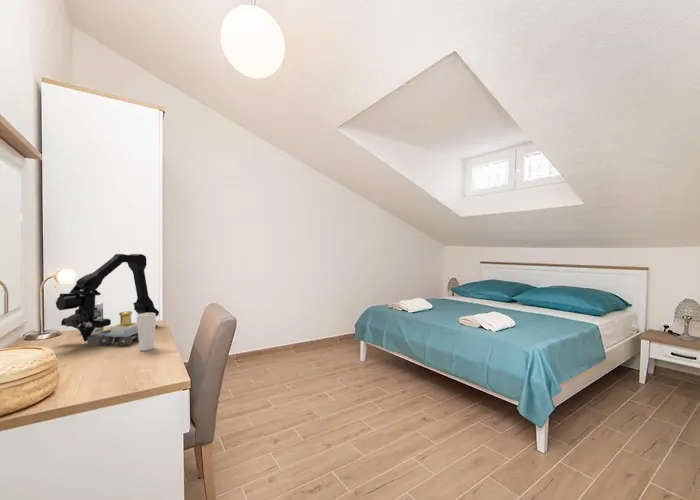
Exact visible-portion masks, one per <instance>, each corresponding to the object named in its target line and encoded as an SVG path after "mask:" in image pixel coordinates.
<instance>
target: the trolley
mask: <svg viewBox="0 0 700 500" xmlns="http://www.w3.org/2000/svg"><path fill="white" fill-rule="evenodd" d="M99 341H100V344H101V345H102V346H105V347H106V346H108V345H110V344H112V343H113V341H115V342H118V343H119V345H120V346H122V347H127V346H129V345H131V344H132V343H133V342H139V340H138V330H137V326H135V327H132V328H129V329H126V330H125V333H111V332H109V333H106V334H105V335H104V336H101V337H100V339H99ZM101 345H100V346H101Z"/></svg>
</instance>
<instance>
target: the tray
mask: <svg viewBox="0 0 700 500" xmlns="http://www.w3.org/2000/svg"><path fill="white" fill-rule="evenodd" d="M135 326H137V322H131V326H128V327H120V323H118V324H115V325H110V331H111V333H125V330H126V329H129V328H132V327H135Z"/></svg>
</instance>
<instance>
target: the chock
mask: <svg viewBox="0 0 700 500" xmlns="http://www.w3.org/2000/svg"><path fill="white" fill-rule="evenodd" d="M105 334H106V333H99V332H97V333H93V334H91V335H90V336H89V337H87V341H86V342H87V345H86V346H88V347H89V346H101V344H100V341H99V339H100V337H101V336H104V335H105Z"/></svg>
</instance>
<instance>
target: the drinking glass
mask: <svg viewBox="0 0 700 500" xmlns="http://www.w3.org/2000/svg"><path fill="white" fill-rule="evenodd" d="M156 318H157V316H156V314H155V313H142V314H138V313H137V315H136V323H137V330H138V340H139V341H138V350H139V351H141V352H147V351H152V350H153V349H154V347H155V333H156V327H155V325H157V324H156V323H157V322H156V321H157V319H156Z"/></svg>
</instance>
